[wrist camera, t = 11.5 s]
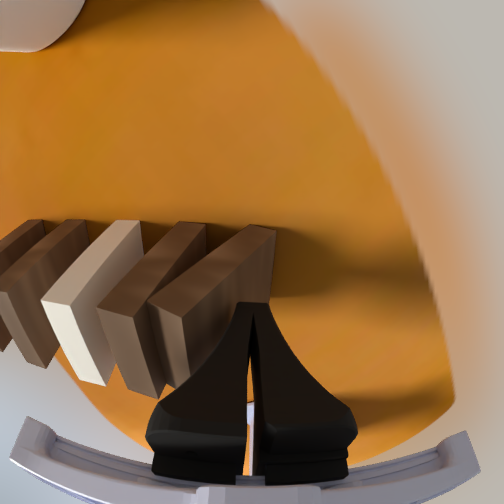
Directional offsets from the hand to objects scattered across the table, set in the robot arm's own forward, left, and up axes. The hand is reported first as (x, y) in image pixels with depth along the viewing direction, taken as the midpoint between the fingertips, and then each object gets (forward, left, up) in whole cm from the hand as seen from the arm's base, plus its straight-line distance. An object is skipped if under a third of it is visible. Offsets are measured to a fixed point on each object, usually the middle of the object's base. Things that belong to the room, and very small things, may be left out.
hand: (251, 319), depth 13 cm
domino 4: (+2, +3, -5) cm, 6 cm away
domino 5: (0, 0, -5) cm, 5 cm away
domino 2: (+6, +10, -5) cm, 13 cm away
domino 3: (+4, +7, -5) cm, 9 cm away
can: (+22, +3, -5) cm, 23 cm away
